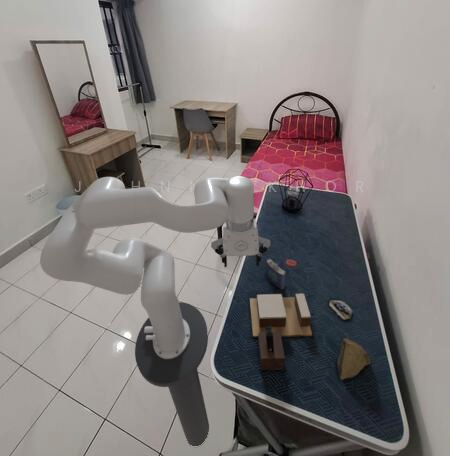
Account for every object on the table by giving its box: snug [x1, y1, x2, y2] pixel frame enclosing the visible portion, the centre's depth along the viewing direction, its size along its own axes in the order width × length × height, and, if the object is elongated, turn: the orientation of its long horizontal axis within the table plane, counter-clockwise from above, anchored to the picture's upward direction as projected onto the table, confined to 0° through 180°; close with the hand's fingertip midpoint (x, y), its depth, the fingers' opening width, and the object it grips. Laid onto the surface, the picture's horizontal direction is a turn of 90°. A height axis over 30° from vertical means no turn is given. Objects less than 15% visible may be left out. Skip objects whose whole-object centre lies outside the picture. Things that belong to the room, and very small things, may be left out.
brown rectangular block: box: [294, 293, 312, 327], centre depth 85 cm, size 3×8×6 cm, turn 0°
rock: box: [337, 338, 371, 381], centre depth 71 cm, size 11×9×10 cm
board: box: [249, 296, 313, 338], centre depth 87 cm, size 20×13×1 cm, turn 90°
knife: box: [265, 327, 274, 353], centre depth 73 cm, size 2×3×14 cm, turn 179°
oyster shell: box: [328, 299, 354, 320], centre depth 88 cm, size 7×8×2 cm
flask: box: [265, 258, 286, 290], centre depth 97 cm, size 9×3×11 cm, turn 38°
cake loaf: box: [256, 293, 286, 327], centre depth 85 cm, size 9×8×6 cm
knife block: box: [257, 332, 286, 371], centre depth 75 cm, size 7×7×7 cm
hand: (241, 262), depth 73 cm, fingers open, 9 cm apart
